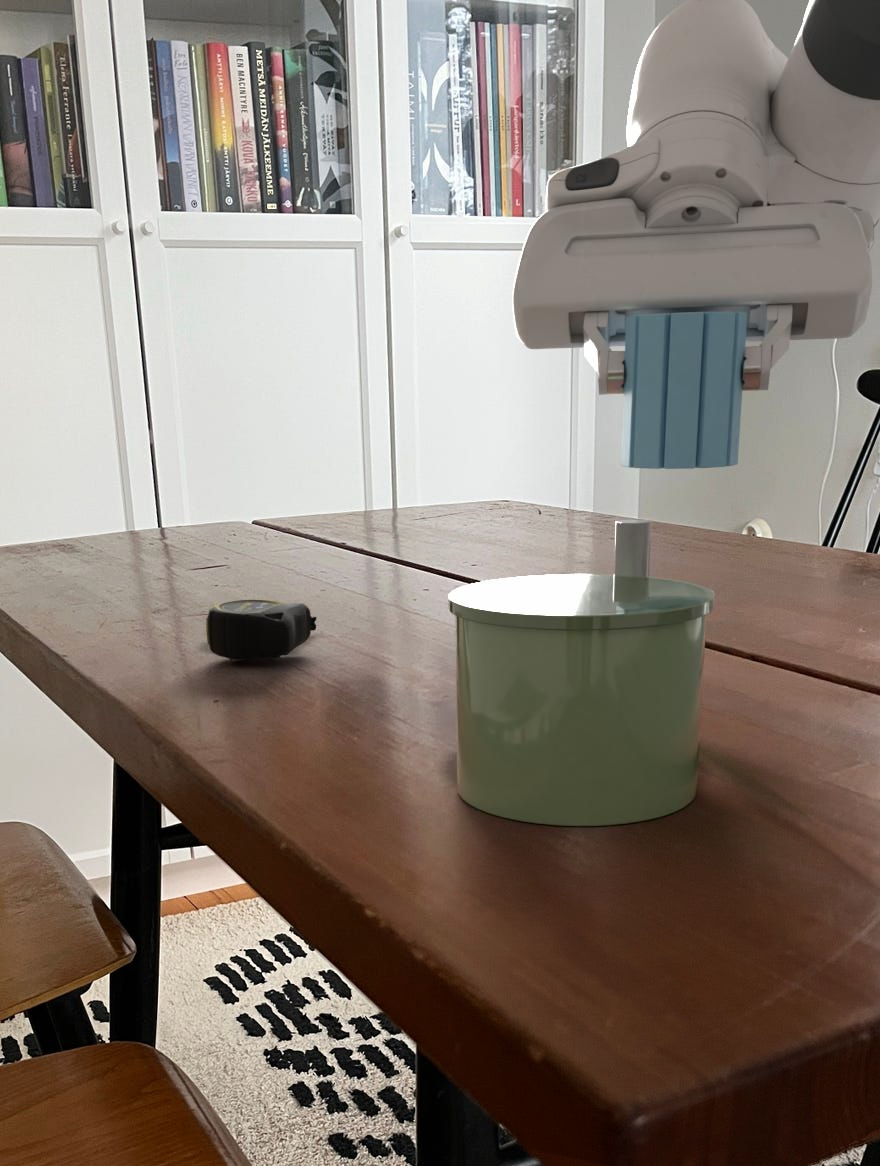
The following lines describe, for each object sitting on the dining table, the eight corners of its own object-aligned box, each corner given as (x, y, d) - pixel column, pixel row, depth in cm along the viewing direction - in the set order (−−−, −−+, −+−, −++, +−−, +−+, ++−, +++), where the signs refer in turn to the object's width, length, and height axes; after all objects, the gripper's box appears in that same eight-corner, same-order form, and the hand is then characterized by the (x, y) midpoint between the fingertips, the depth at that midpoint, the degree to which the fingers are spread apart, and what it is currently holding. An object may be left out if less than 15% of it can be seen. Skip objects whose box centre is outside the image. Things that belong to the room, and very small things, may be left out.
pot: (676, 841, 52) (691, 568, 48) (413, 813, 56) (407, 560, 52) (745, 723, 69) (760, 515, 65) (540, 709, 73) (542, 513, 69)
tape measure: (289, 670, 85) (286, 614, 83) (193, 667, 86) (189, 612, 85) (318, 650, 91) (315, 597, 90) (228, 648, 93) (225, 596, 91)
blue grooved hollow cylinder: (711, 460, 76) (720, 317, 74) (753, 466, 70) (764, 310, 67) (608, 463, 76) (613, 319, 73) (642, 470, 70) (648, 312, 67)
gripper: (865, 246, 77) (867, 420, 71) (531, 263, 81) (509, 428, 76) (882, 152, 71) (886, 333, 66) (522, 175, 76) (498, 347, 70)
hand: (681, 384), depth 71 cm, fingers closed on blue grooved hollow cylinder, 6 cm apart
